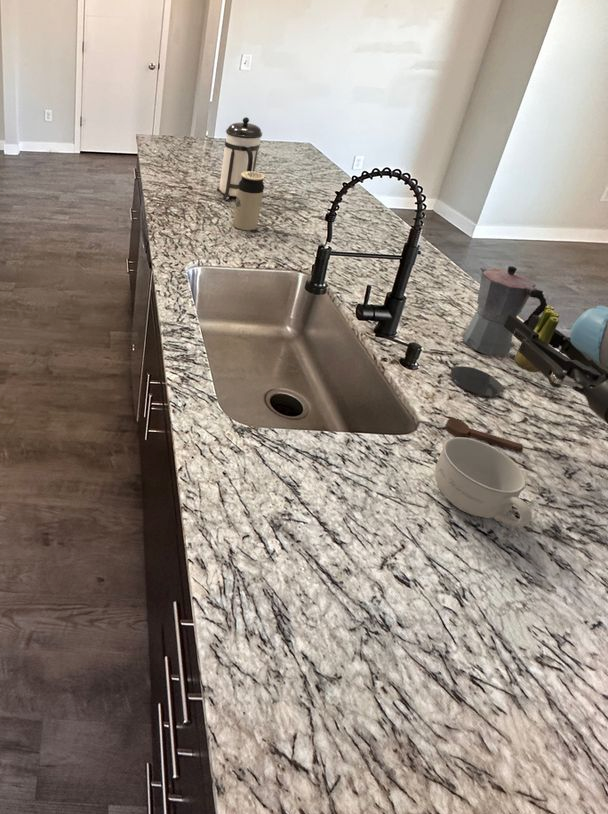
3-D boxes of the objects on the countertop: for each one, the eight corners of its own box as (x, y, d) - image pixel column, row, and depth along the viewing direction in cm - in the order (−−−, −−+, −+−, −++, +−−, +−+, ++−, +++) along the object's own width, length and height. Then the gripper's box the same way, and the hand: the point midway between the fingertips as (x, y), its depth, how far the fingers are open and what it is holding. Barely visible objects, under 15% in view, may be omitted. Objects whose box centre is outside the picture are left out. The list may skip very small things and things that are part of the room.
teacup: (415, 468, 90) (430, 433, 87) (480, 471, 90) (497, 436, 87) (464, 547, 78) (483, 509, 74) (539, 551, 78) (562, 513, 74)
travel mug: (255, 222, 182) (264, 172, 175) (257, 232, 175) (267, 180, 167) (231, 220, 183) (239, 170, 176) (233, 229, 176) (241, 177, 169)
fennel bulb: (520, 355, 101) (544, 301, 96) (550, 369, 98) (578, 314, 92) (506, 365, 98) (531, 310, 93) (537, 380, 95) (565, 324, 89)
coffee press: (205, 194, 205) (215, 116, 192) (229, 185, 215) (240, 110, 202) (244, 208, 193) (257, 126, 180) (267, 198, 203) (282, 119, 190)
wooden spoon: (518, 443, 96) (521, 438, 96) (522, 457, 93) (525, 452, 93) (444, 420, 101) (446, 415, 100) (446, 433, 98) (448, 428, 97)
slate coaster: (497, 376, 113) (498, 374, 113) (504, 403, 105) (505, 401, 105) (448, 363, 116) (449, 361, 116) (452, 388, 109) (452, 386, 109)
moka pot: (471, 324, 130) (500, 251, 122) (535, 363, 117) (573, 285, 109) (441, 330, 127) (469, 256, 119) (504, 371, 114) (540, 291, 106)
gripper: (568, 430, 80) (469, 336, 101) (678, 431, 81) (556, 338, 102) (590, 391, 77) (482, 302, 98) (704, 393, 78) (572, 304, 99)
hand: (520, 320), depth 100 cm, fingers closed on fennel bulb, 4 cm apart
